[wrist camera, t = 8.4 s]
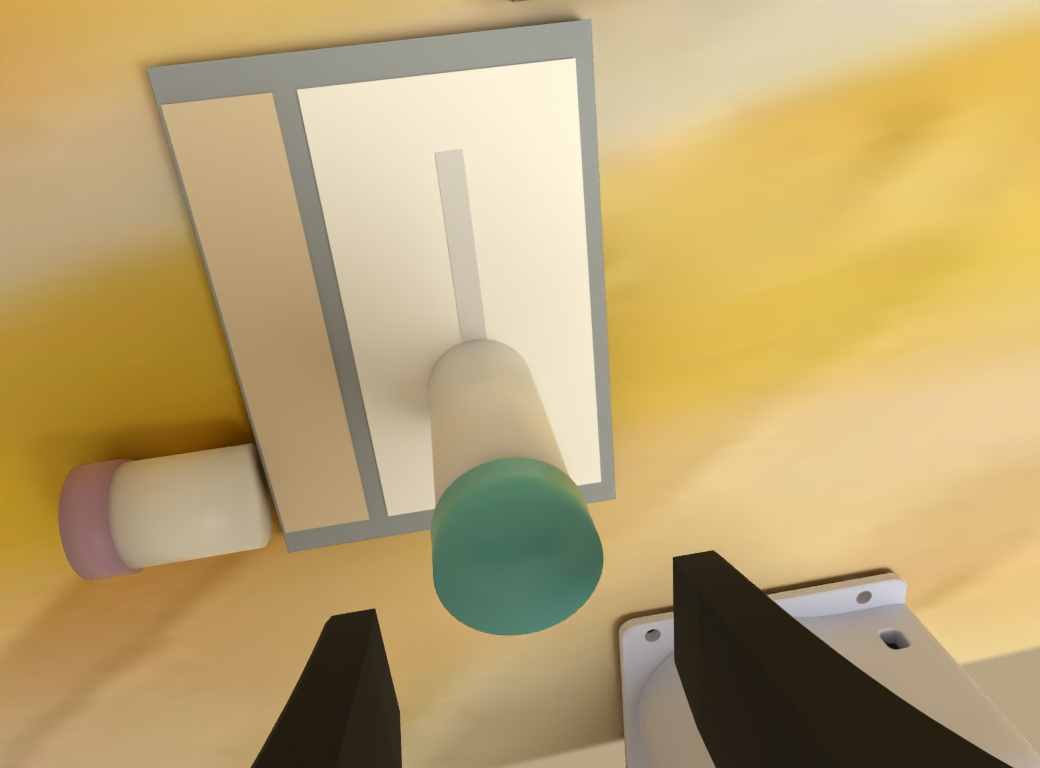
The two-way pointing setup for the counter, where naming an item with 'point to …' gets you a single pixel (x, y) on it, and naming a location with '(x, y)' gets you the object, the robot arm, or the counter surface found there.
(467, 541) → the marker teal
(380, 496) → the board
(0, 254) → the counter surface
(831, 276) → the counter surface
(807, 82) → the counter surface
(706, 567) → the robot arm
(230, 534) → the marker plum
